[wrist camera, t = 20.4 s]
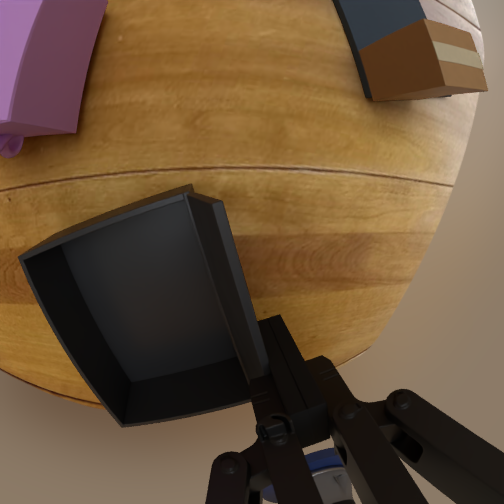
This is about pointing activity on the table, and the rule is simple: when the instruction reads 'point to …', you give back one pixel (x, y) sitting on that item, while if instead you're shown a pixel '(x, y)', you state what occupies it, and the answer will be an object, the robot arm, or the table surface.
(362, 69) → the mat
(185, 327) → the carton
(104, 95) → the table surface
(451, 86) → the parcel
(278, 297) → the table surface
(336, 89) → the table surface
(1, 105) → the teapot
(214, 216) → the flap
